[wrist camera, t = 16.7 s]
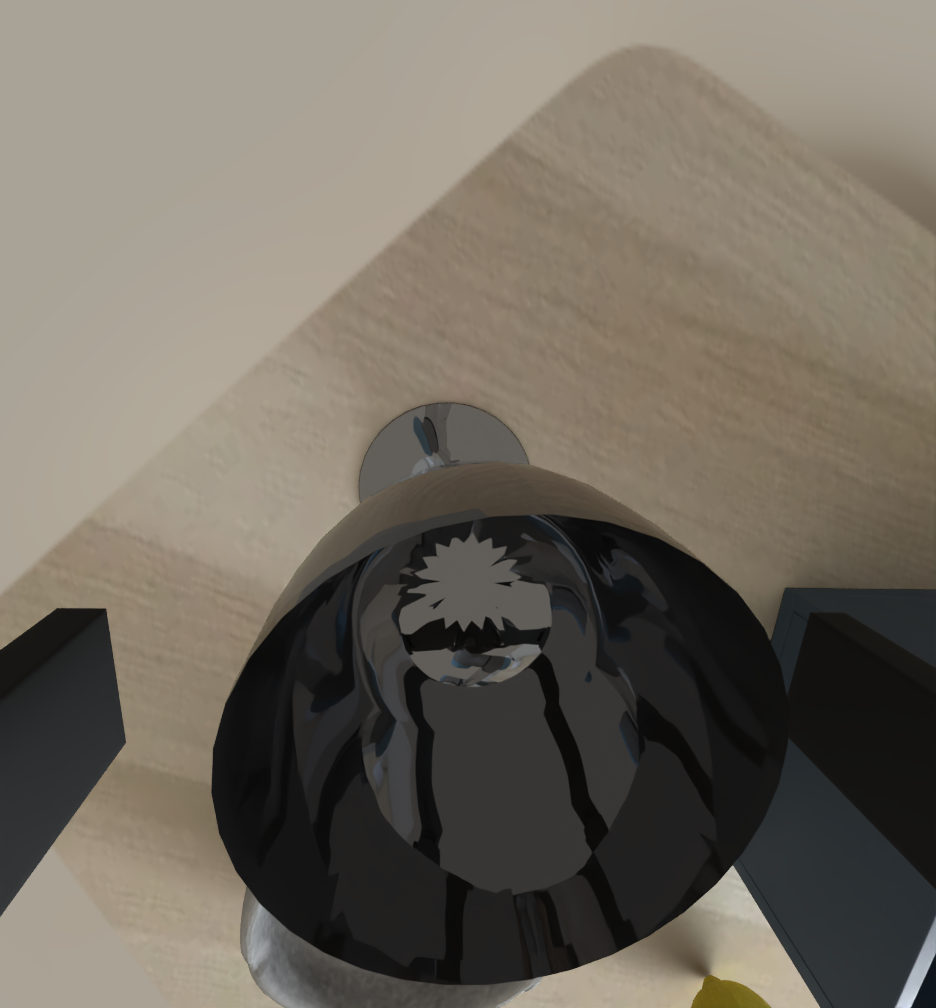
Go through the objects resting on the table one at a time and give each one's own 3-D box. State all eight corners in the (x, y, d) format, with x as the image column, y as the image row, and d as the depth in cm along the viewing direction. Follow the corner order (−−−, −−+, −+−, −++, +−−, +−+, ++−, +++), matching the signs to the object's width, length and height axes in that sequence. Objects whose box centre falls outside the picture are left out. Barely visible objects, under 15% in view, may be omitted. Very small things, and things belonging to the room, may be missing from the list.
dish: (241, 749, 24) (199, 849, 19) (535, 709, 25) (564, 795, 20) (296, 962, 28) (273, 1086, 24) (544, 921, 29) (570, 1032, 25)
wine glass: (349, 384, 20) (186, 493, 5) (553, 399, 21) (863, 526, 6) (346, 575, 22) (225, 1002, 8) (529, 580, 23) (720, 971, 9)
